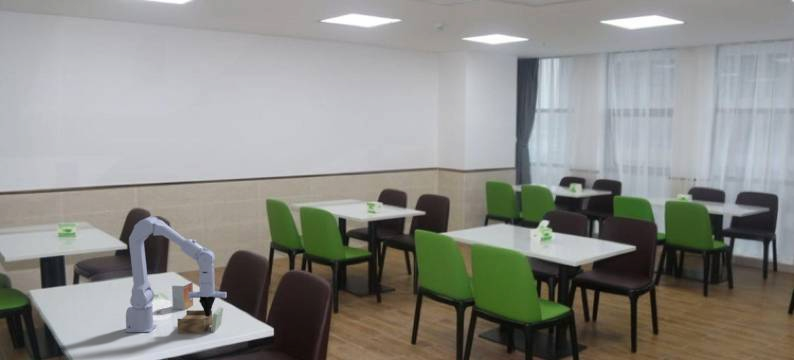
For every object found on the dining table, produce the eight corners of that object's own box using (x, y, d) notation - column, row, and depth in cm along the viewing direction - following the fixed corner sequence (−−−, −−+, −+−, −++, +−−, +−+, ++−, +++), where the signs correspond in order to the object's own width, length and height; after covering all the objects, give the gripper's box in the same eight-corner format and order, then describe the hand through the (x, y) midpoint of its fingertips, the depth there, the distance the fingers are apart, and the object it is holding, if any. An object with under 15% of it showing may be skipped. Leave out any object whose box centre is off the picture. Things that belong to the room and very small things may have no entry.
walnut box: (177, 333, 253) (177, 319, 253) (187, 323, 265) (187, 310, 265) (204, 333, 253) (203, 319, 253) (212, 323, 265) (212, 310, 265)
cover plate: (213, 314, 254) (217, 314, 254) (219, 307, 263) (223, 307, 263) (210, 331, 255) (214, 332, 255) (217, 324, 264) (220, 324, 264)
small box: (184, 310, 283) (183, 286, 282) (172, 309, 285) (171, 285, 284) (193, 305, 291) (193, 281, 290) (182, 304, 292) (181, 281, 291)
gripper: (228, 279, 261) (229, 312, 263) (191, 279, 261) (192, 312, 263) (223, 283, 254) (224, 318, 256) (185, 283, 254) (186, 318, 256)
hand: (208, 315), depth 259 cm, fingers closed
